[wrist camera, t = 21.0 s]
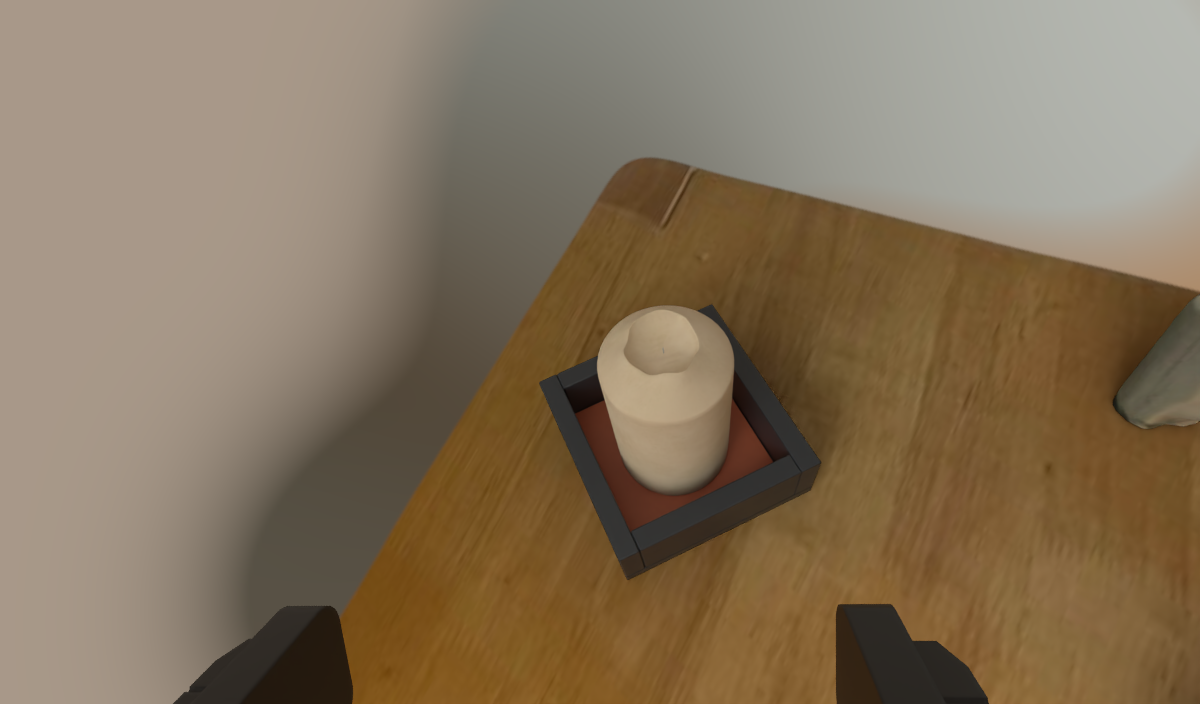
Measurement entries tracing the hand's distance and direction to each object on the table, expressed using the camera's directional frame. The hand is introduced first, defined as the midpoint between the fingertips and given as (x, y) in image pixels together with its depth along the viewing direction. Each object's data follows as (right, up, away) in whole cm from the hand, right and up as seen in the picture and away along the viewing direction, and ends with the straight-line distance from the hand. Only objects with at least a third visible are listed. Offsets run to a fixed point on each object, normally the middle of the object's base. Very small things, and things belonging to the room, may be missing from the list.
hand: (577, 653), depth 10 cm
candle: (+4, 0, +23) cm, 23 cm away
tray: (+4, 0, +24) cm, 24 cm away
